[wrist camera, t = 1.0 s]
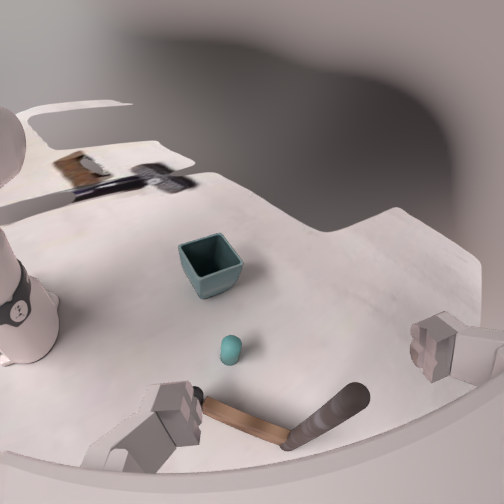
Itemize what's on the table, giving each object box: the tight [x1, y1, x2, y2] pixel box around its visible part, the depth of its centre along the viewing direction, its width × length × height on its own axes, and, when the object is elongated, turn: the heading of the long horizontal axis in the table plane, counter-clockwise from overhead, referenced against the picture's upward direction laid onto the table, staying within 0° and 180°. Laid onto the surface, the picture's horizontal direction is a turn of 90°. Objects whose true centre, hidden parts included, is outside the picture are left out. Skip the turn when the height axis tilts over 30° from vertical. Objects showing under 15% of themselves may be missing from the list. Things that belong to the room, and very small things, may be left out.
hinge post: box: [192, 386, 204, 410], centre depth 39 cm, size 2×2×6 cm
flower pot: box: [178, 233, 244, 299], centre depth 55 cm, size 9×9×9 cm
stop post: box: [220, 335, 242, 365], centre depth 46 cm, size 3×3×5 cm
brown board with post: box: [203, 382, 370, 451], centre depth 30 cm, size 15×3×24 cm, turn 68°
